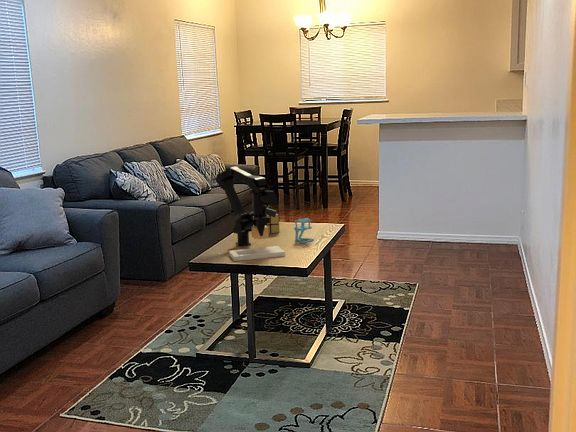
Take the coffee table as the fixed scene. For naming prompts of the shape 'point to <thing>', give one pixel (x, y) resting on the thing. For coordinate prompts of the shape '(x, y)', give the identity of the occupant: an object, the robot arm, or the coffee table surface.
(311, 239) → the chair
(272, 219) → the puzzle cube
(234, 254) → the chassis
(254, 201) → the robot arm
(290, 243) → the coffee table surface
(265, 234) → the beige block
